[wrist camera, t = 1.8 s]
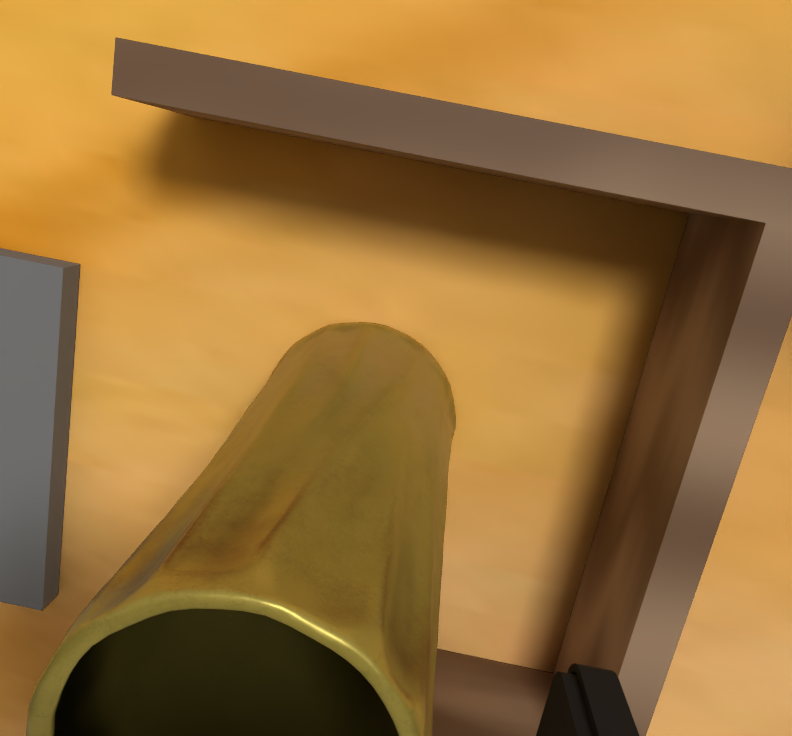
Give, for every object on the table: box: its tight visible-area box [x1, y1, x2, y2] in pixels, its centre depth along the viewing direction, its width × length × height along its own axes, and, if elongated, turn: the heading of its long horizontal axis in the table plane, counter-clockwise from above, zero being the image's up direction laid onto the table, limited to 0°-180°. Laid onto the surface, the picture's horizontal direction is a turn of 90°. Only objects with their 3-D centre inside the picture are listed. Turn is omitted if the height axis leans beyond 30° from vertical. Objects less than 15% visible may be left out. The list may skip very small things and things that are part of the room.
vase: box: [26, 322, 456, 736], centre depth 15 cm, size 6×6×14 cm
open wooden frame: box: [111, 38, 792, 736], centre depth 20 cm, size 18×16×5 cm
